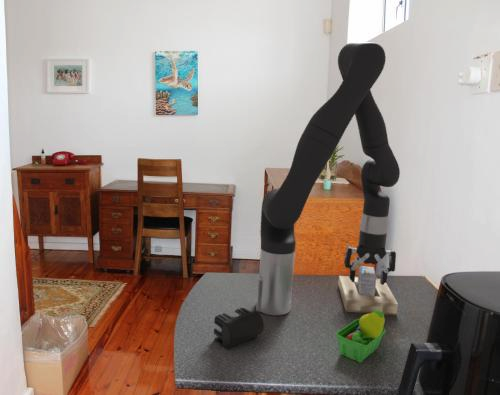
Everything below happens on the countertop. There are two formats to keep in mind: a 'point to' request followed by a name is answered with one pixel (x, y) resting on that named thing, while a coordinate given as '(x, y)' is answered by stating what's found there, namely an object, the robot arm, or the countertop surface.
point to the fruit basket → (362, 336)
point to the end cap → (238, 327)
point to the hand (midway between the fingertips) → (367, 282)
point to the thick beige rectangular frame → (366, 298)
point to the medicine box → (366, 281)
